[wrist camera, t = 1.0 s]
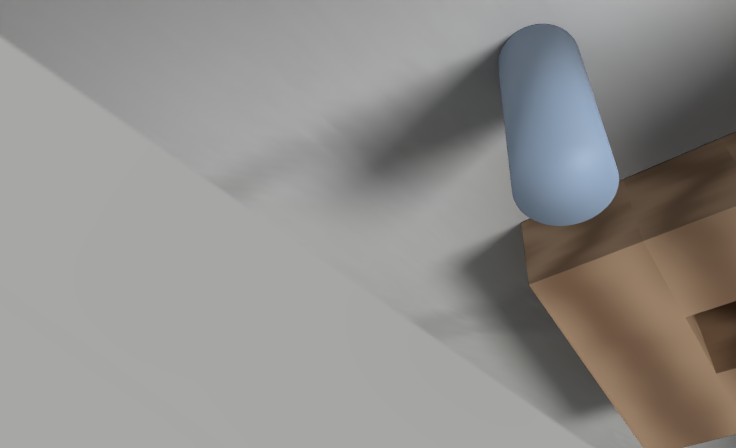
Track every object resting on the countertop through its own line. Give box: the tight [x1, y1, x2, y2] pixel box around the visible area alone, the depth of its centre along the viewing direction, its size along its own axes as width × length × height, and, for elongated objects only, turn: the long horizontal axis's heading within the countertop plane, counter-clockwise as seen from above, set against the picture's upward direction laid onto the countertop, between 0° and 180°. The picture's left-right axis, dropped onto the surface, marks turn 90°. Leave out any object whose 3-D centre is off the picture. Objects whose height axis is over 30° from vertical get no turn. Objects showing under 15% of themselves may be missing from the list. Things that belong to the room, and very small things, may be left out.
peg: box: [498, 24, 619, 226], centre depth 35 cm, size 4×4×12 cm
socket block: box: [521, 132, 736, 448], centre depth 45 cm, size 20×20×6 cm
